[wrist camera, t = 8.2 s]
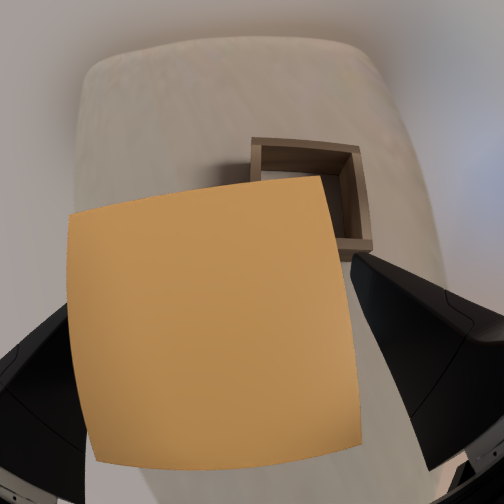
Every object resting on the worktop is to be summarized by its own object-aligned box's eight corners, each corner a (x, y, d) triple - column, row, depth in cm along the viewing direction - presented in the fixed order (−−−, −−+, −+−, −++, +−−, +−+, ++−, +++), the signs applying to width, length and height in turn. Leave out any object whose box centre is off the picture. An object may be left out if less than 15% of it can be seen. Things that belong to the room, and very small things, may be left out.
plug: (279, 355, 16) (361, 444, 3) (205, 364, 16) (96, 461, 3) (268, 282, 17) (319, 175, 4) (195, 292, 17) (69, 214, 4)
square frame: (354, 261, 17) (373, 250, 15) (248, 258, 17) (247, 245, 14) (345, 168, 19) (359, 146, 16) (251, 162, 19) (251, 137, 16)
